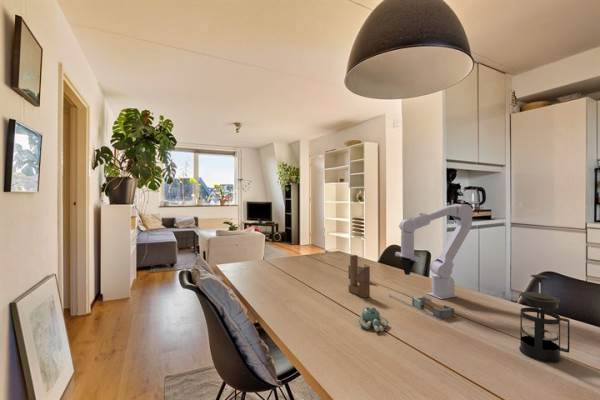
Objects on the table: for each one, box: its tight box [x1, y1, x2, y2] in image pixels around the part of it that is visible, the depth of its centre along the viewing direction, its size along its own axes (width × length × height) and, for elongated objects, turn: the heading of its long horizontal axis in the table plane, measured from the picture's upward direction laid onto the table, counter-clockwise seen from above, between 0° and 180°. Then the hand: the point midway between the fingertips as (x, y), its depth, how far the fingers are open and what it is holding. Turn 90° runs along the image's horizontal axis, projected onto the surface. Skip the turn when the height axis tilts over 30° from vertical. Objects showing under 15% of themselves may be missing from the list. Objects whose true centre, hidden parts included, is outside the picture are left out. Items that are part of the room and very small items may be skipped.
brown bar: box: [423, 300, 446, 314], centre depth 116 cm, size 3×10×3 cm, turn 16°
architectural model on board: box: [348, 263, 370, 282], centre depth 162 cm, size 11×3×10 cm, turn 48°
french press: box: [518, 274, 571, 364], centre depth 84 cm, size 12×9×23 cm
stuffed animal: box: [358, 306, 389, 332], centre depth 104 cm, size 11×7×12 cm
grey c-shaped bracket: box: [432, 304, 455, 321], centre depth 112 cm, size 6×4×3 cm, turn 111°
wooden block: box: [348, 254, 371, 299], centre depth 137 cm, size 4×11×18 cm, turn 33°
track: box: [388, 292, 457, 321], centre depth 123 cm, size 9×29×1 cm, turn 21°
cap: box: [411, 295, 432, 310], centre depth 122 cm, size 6×4×3 cm, turn 111°
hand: (407, 274), depth 135 cm, fingers closed
